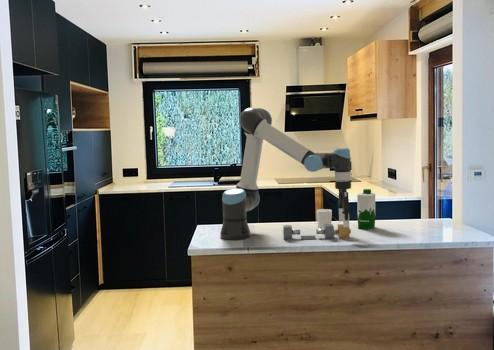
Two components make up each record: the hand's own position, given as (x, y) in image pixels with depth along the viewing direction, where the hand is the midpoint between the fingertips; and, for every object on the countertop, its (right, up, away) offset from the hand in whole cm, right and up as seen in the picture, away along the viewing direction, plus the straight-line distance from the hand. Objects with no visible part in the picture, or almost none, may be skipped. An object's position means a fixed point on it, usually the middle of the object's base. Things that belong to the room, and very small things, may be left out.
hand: (344, 224), depth 233 cm
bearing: (-25, -7, +2) cm, 26 cm away
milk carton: (+16, -4, +20) cm, 26 cm away
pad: (-17, -7, +2) cm, 19 cm away
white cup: (-6, -5, +20) cm, 22 cm away
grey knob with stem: (-9, -7, +1) cm, 11 cm away
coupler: (0, -7, +1) cm, 7 cm away
